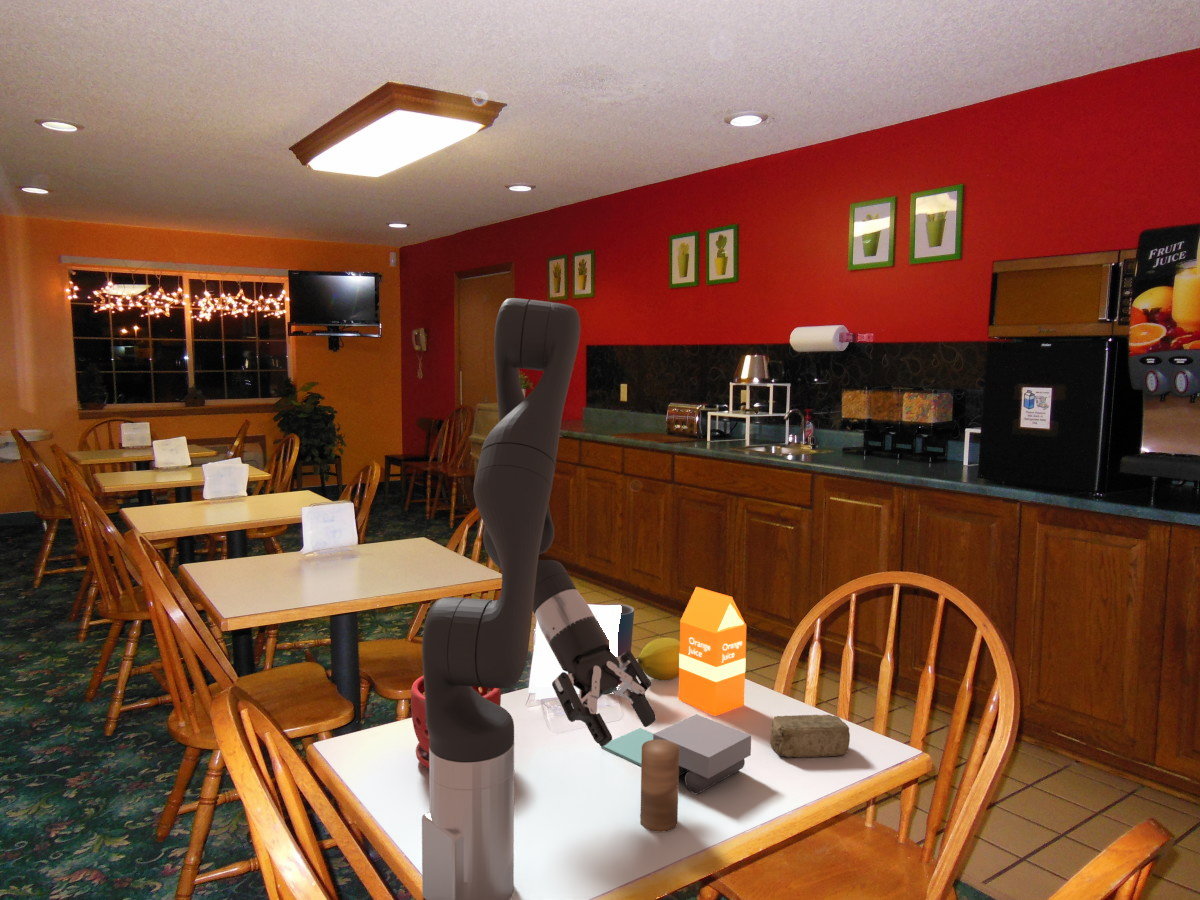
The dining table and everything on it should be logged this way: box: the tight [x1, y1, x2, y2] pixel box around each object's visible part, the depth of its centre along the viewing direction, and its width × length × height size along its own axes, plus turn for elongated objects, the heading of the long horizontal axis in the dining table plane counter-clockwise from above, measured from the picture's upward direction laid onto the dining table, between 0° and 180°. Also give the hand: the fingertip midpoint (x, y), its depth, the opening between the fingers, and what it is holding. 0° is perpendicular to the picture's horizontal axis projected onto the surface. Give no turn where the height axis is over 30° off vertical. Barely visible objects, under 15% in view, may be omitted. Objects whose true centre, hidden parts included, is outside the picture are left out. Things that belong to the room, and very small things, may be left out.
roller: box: [639, 739, 680, 833], centre depth 107 cm, size 5×5×10 cm
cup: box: [606, 603, 635, 684], centre depth 151 cm, size 7×7×15 cm
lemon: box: [636, 637, 680, 682], centre depth 156 cm, size 11×8×8 cm
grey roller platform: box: [653, 713, 752, 794], centre depth 119 cm, size 10×10×6 cm
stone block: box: [769, 714, 851, 759], centre depth 128 cm, size 6×12×5 cm, turn 96°
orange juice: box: [678, 586, 747, 717], centre depth 145 cm, size 8×9×20 cm
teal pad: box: [600, 727, 654, 767], centre depth 128 cm, size 9×9×1 cm
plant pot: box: [410, 674, 502, 769], centre depth 123 cm, size 13×13×12 cm
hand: (629, 733), depth 110 cm, fingers open, 8 cm apart
